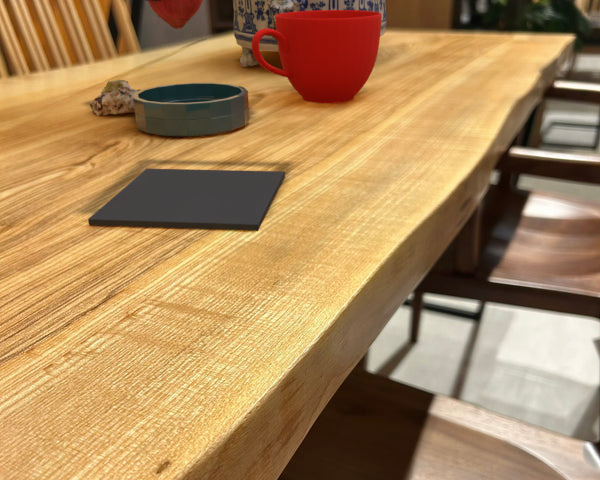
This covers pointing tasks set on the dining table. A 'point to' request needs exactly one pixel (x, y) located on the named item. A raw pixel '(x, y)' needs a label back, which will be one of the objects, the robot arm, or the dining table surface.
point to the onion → (176, 11)
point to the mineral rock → (114, 99)
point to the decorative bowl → (267, 3)
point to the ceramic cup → (324, 51)
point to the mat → (193, 200)
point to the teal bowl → (191, 109)
